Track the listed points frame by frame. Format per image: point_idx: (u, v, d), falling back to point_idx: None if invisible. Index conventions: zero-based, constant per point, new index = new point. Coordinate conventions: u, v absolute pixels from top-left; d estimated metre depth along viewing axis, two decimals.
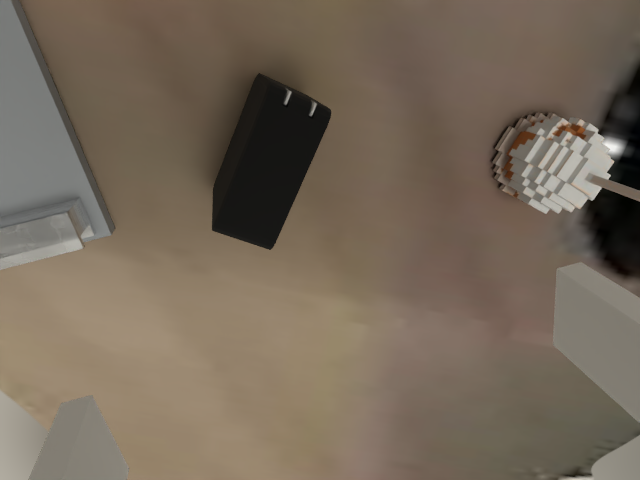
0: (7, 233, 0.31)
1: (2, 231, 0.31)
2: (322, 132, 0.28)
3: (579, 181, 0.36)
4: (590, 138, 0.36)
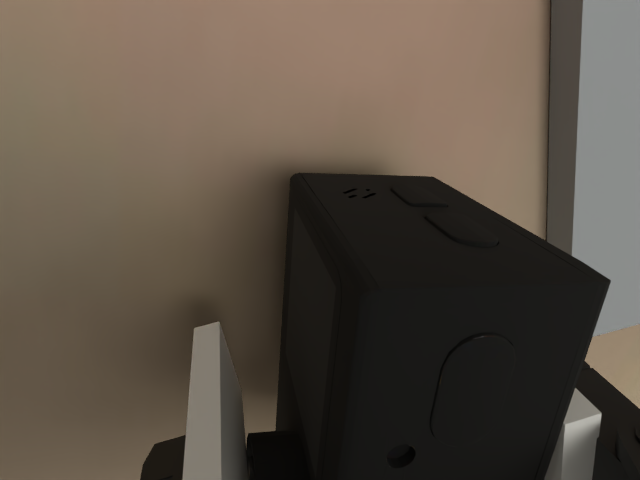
0: None
1: None
2: None
3: None
4: None
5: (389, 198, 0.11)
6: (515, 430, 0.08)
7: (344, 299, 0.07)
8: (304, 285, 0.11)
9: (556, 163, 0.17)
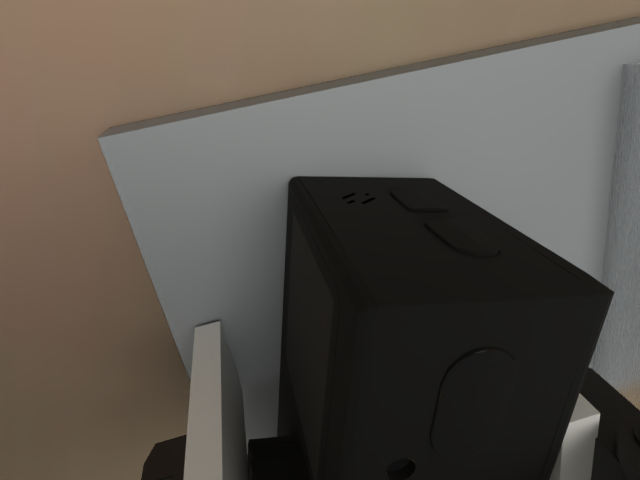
0: None
1: None
2: None
3: None
4: None
5: (388, 203, 0.11)
6: (516, 442, 0.08)
7: (342, 313, 0.07)
8: (303, 292, 0.11)
9: None
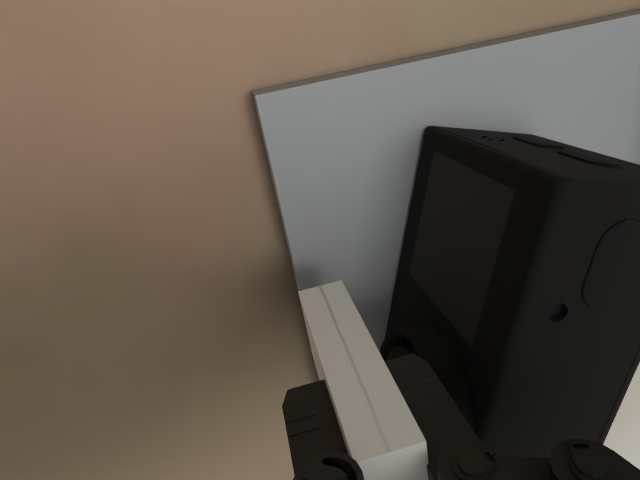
0: None
1: None
2: None
3: None
4: None
5: (518, 142, 0.14)
6: (635, 300, 0.11)
7: (529, 195, 0.11)
8: (452, 207, 0.14)
9: (292, 266, 0.18)
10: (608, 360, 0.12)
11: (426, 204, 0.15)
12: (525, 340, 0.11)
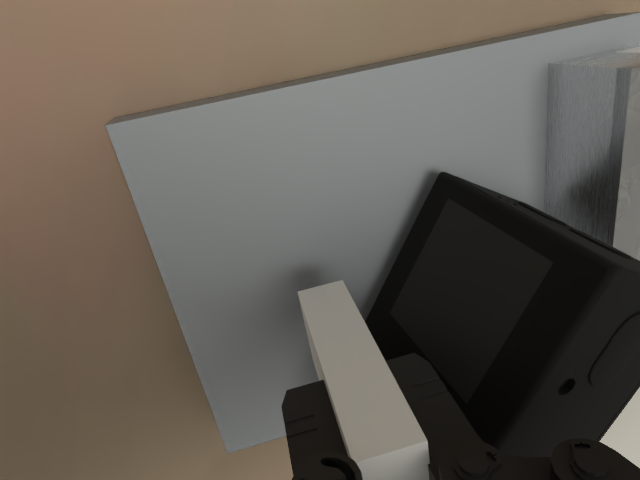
0: (628, 206, 0.14)
1: (622, 213, 0.14)
2: None
3: None
4: None
5: (529, 210, 0.15)
6: (622, 383, 0.12)
7: (571, 271, 0.11)
8: (464, 259, 0.14)
9: None
10: (583, 433, 0.13)
11: (427, 248, 0.15)
12: (533, 409, 0.11)
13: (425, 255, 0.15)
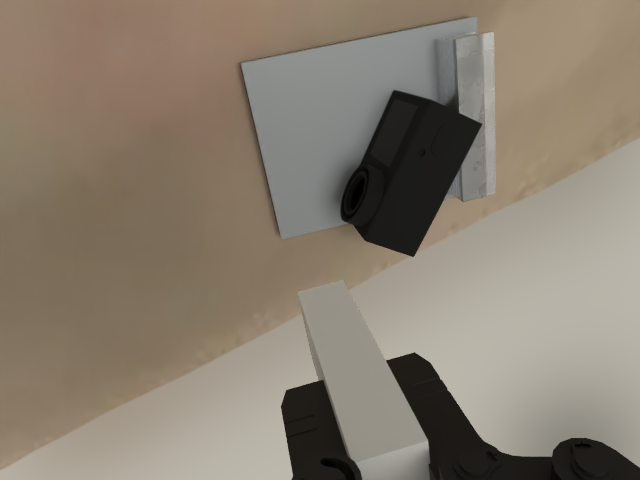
0: (464, 100, 0.33)
1: (461, 103, 0.33)
2: None
3: None
4: None
5: None
6: (449, 159, 0.31)
7: (421, 106, 0.30)
8: (396, 118, 0.33)
9: None
10: (436, 182, 0.32)
11: (385, 121, 0.35)
12: (408, 159, 0.31)
13: (384, 124, 0.35)
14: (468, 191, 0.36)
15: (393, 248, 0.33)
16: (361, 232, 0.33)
